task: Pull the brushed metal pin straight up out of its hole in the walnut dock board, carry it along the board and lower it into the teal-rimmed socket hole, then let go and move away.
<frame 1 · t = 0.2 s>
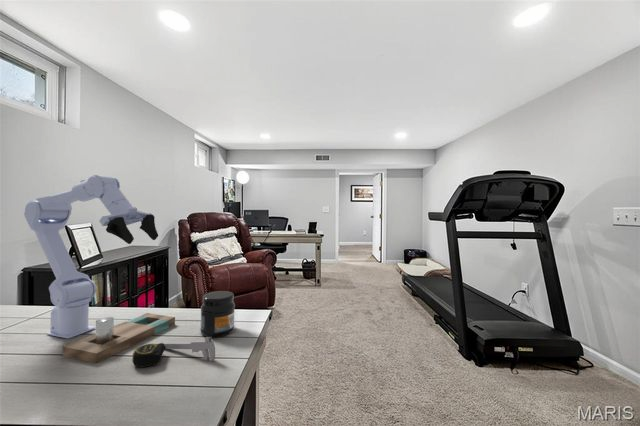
hand: (144, 239, 81), 31 cm above the table, fingers open, 7 cm apart
metal pin: (104, 348, 79), resting in dock board
tape measure: (151, 362, 73), on the table
supplement container: (217, 332, 92), on the table
dock board: (125, 338, 85), on the table
caliper: (183, 355, 77), on the table
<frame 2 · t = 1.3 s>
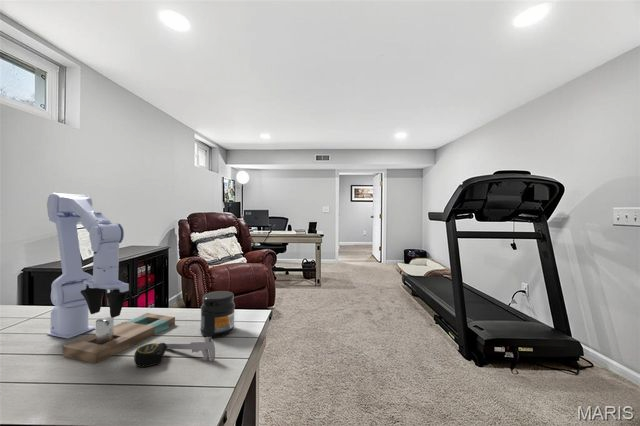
hand: (105, 314, 79), 9 cm above the table, fingers open, 7 cm apart
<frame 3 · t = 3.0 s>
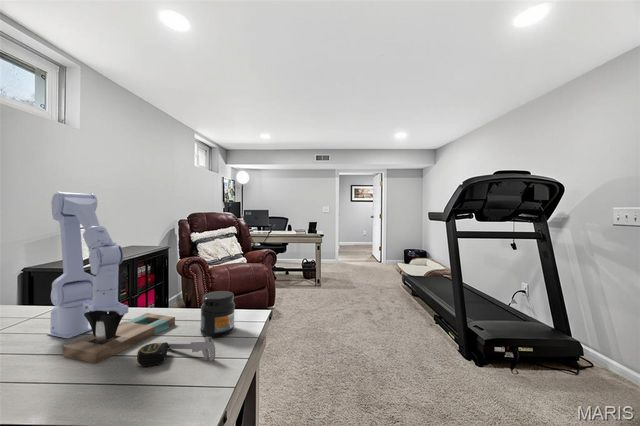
hand: (104, 336, 79), 3 cm above the table, fingers closed on metal pin, 4 cm apart
metal pin: (104, 347, 79), resting in dock board, touching gripper
when the fingers open (5 cm above the table, at t = 7.3 s): metal pin drops 1 cm, resting on dock board.
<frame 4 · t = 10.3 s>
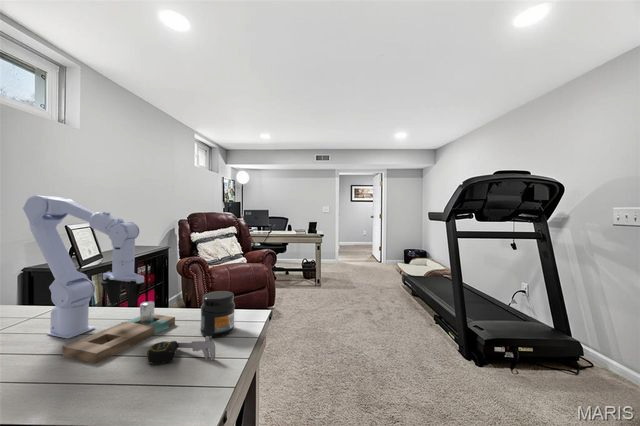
hand: (122, 303, 88), 9 cm above the table, fingers open, 7 cm apart
metal pin: (146, 327, 92), resting on dock board
tape measure: (165, 360, 74), on the table
everything else where it was.
at the end: metal pin 0.2 cm from the target spot on the dock board, point 0.3 cm above the dock board's base; metal pin tilted 1°; the gripper is holding nothing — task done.
